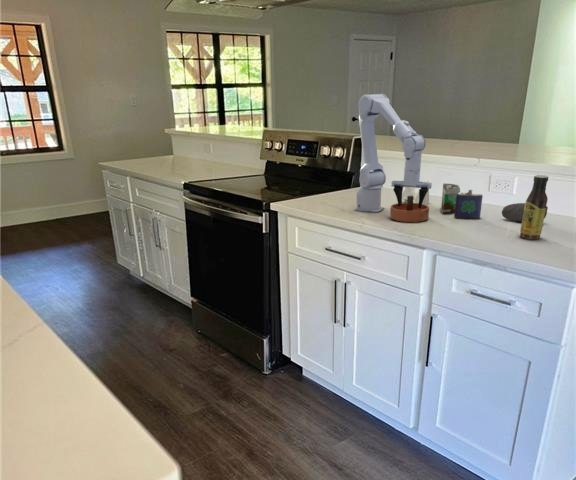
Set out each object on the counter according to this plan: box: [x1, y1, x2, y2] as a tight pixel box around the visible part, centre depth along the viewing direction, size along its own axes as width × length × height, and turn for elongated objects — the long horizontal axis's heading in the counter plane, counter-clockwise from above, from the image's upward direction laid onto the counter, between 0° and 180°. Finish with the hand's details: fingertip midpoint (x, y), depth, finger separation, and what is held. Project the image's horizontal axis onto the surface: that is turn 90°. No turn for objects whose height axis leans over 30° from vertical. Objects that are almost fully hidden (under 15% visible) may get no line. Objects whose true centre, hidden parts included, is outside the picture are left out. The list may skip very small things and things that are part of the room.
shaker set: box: [402, 180, 430, 205], centre depth 215 cm, size 12×4×11 cm, turn 48°
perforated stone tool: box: [501, 202, 549, 223], centre depth 182 cm, size 15×5×7 cm, turn 51°
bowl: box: [389, 202, 430, 223], centre depth 192 cm, size 14×14×4 cm
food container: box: [440, 182, 461, 215], centre depth 199 cm, size 12×6×10 cm, turn 168°
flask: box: [454, 189, 483, 220], centre depth 188 cm, size 9×3×11 cm, turn 74°
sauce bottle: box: [519, 174, 549, 240], centre depth 160 cm, size 7×6×20 cm
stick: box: [406, 196, 414, 211], centre depth 191 cm, size 2×2×8 cm
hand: (409, 206), depth 191 cm, fingers open, 7 cm apart
